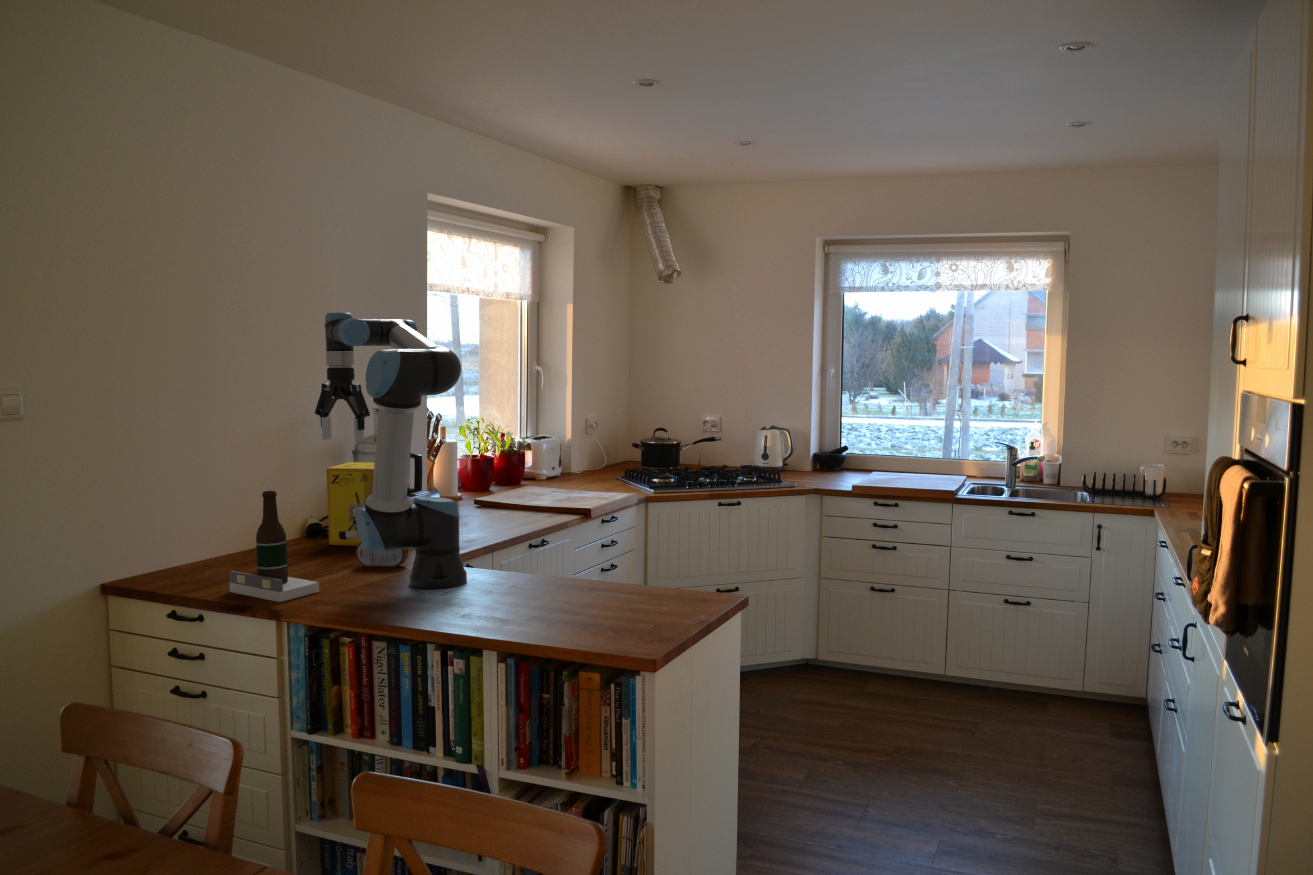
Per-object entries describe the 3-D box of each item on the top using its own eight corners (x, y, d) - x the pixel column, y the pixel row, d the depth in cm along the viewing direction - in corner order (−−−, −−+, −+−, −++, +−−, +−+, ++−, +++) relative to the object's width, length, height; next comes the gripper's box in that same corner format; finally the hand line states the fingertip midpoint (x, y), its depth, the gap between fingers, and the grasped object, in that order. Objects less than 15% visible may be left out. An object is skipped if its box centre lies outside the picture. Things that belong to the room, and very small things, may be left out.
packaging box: (376, 546, 309) (374, 468, 307) (329, 544, 312) (326, 468, 309) (397, 536, 325) (395, 462, 323) (352, 535, 328) (350, 462, 325)
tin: (408, 566, 281) (408, 537, 281) (405, 568, 278) (404, 539, 277) (359, 565, 283) (358, 536, 282) (354, 567, 280) (353, 538, 279)
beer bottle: (252, 586, 247) (248, 493, 245) (263, 579, 255) (259, 489, 252) (283, 586, 247) (279, 493, 245) (293, 578, 255) (289, 489, 253)
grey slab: (319, 591, 252) (318, 570, 251) (279, 602, 241) (278, 580, 241) (269, 582, 262) (268, 562, 261) (229, 591, 252) (228, 571, 251)
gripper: (381, 366, 274) (383, 441, 276) (321, 366, 286) (324, 437, 288) (360, 367, 267) (363, 443, 269) (300, 366, 280) (303, 439, 282)
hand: (342, 440), depth 279 cm, fingers open, 13 cm apart
